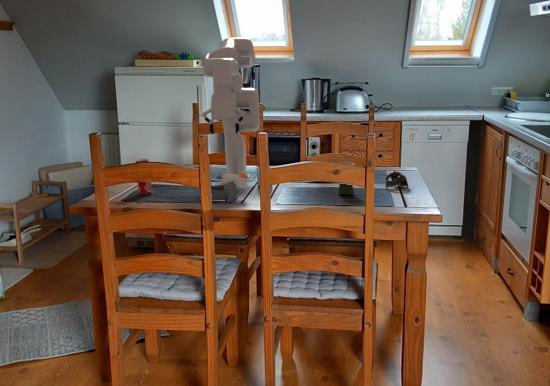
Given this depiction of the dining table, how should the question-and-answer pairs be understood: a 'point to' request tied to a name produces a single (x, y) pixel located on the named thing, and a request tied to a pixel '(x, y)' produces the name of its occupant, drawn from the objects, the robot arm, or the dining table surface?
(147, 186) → the beverage can
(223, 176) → the seesaw trough
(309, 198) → the dining table surface
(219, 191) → the cup
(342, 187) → the character mug
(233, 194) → the catapult stand
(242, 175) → the ball
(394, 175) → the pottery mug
